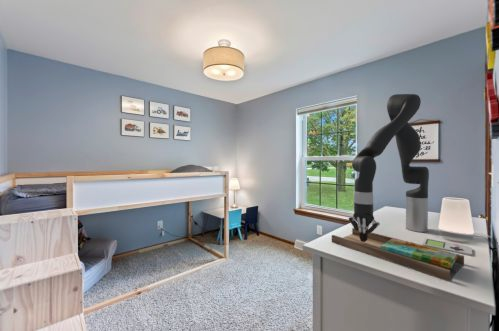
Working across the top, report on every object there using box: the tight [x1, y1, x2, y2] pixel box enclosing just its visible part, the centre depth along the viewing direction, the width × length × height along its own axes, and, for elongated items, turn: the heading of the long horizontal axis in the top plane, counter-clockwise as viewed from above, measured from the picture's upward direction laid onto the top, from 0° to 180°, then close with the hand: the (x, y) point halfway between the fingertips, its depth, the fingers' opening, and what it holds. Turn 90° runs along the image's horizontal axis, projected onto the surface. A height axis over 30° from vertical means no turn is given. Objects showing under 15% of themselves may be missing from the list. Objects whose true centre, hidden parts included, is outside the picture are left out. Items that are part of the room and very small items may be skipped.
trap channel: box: [331, 227, 465, 282], centre depth 87 cm, size 18×40×3 cm, turn 35°
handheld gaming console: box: [421, 237, 473, 257], centre depth 92 cm, size 10×2×15 cm
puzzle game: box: [381, 238, 458, 268], centre depth 79 cm, size 12×5×20 cm
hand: (363, 241), depth 96 cm, fingers closed
